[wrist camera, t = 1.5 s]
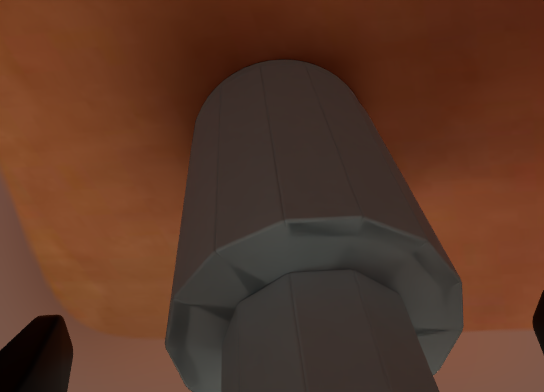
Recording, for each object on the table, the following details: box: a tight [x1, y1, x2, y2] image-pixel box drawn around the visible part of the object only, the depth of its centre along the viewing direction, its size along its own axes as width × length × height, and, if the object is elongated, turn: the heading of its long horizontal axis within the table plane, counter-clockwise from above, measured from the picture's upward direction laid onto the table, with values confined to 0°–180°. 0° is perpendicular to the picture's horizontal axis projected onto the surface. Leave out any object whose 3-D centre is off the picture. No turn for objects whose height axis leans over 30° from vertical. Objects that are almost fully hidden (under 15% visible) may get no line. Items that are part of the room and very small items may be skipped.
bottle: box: [165, 60, 463, 392], centre depth 11 cm, size 5×5×10 cm
